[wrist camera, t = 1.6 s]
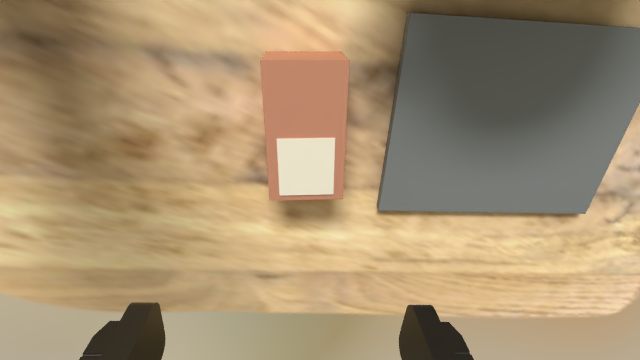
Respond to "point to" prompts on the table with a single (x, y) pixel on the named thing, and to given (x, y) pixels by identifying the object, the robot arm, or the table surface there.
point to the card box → (305, 123)
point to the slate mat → (507, 114)
